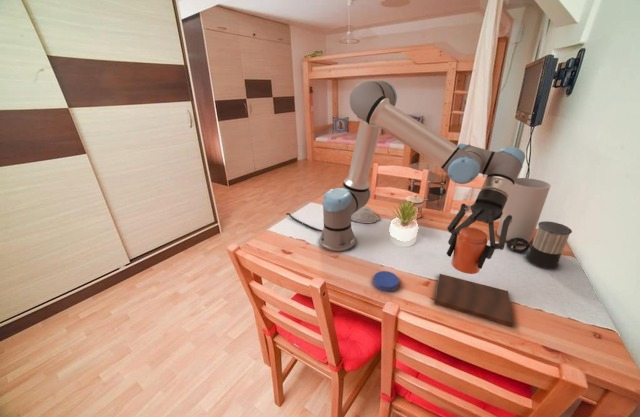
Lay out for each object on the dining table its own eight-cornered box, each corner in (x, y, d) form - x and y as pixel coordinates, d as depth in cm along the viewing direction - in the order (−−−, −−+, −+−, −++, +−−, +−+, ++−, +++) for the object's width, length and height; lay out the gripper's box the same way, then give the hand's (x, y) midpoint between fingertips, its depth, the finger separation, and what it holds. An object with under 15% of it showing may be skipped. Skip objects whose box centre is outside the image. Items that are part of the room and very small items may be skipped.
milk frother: (559, 272, 92) (575, 236, 86) (505, 259, 100) (516, 225, 94) (553, 252, 103) (566, 219, 97) (505, 242, 111) (515, 210, 105)
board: (434, 303, 81) (434, 299, 80) (438, 276, 92) (439, 273, 92) (511, 327, 72) (513, 323, 72) (506, 294, 83) (507, 290, 83)
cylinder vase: (520, 247, 107) (539, 190, 96) (490, 234, 117) (504, 181, 106) (537, 239, 112) (557, 184, 101) (506, 227, 122) (522, 176, 112)
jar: (450, 269, 79) (457, 236, 74) (452, 256, 85) (458, 224, 80) (480, 276, 75) (489, 242, 70) (479, 262, 82) (488, 229, 77)
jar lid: (392, 295, 85) (393, 290, 84) (369, 285, 90) (369, 280, 89) (401, 281, 91) (402, 276, 90) (379, 272, 96) (380, 268, 95)
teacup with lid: (417, 220, 131) (420, 199, 126) (400, 216, 137) (402, 195, 132) (426, 212, 139) (429, 192, 134) (409, 208, 145) (412, 188, 140)
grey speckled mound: (346, 203, 152) (346, 193, 149) (384, 217, 137) (385, 206, 134) (329, 215, 143) (328, 204, 139) (368, 231, 128) (368, 219, 124)
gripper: (456, 181, 84) (426, 243, 81) (536, 197, 70) (504, 273, 67) (460, 192, 89) (431, 251, 86) (534, 209, 76) (504, 280, 72)
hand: (463, 260), depth 77 cm, fingers closed on jar, 8 cm apart
